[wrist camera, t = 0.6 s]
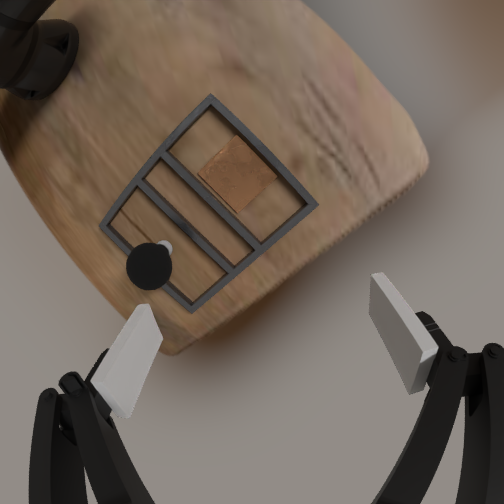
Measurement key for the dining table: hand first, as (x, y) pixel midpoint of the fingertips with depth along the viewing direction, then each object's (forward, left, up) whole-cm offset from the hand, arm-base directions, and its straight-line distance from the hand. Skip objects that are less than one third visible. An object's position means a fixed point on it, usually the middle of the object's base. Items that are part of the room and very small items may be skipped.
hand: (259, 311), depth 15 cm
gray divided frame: (-6, -6, -23) cm, 25 cm away
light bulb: (-6, -13, -23) cm, 28 cm away
